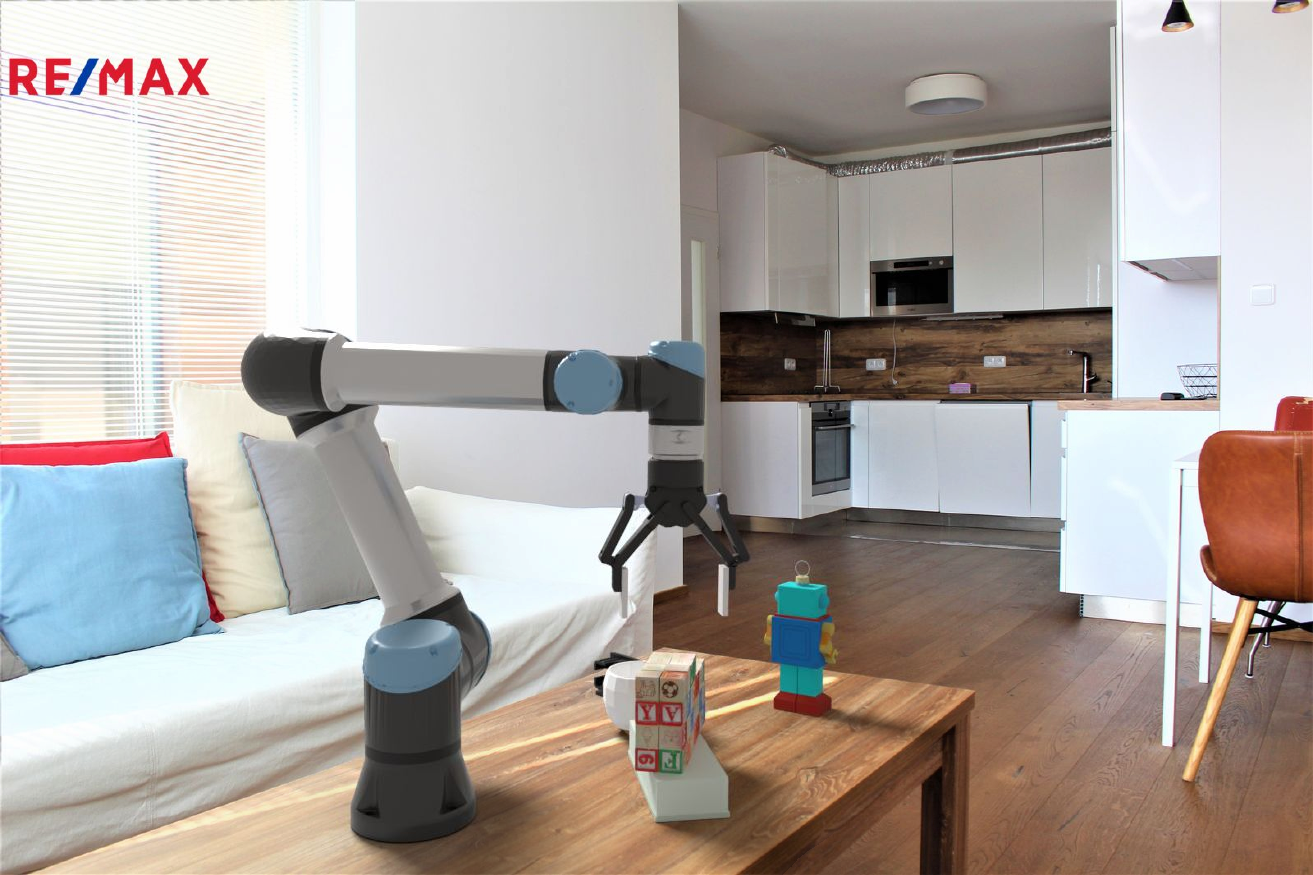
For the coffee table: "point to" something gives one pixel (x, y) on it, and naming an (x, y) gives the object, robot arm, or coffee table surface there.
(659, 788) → the plinth
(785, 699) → the toy robot
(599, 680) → the end cap
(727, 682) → the coffee table surface
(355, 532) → the robot arm
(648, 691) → the stack of blocks
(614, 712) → the cup
